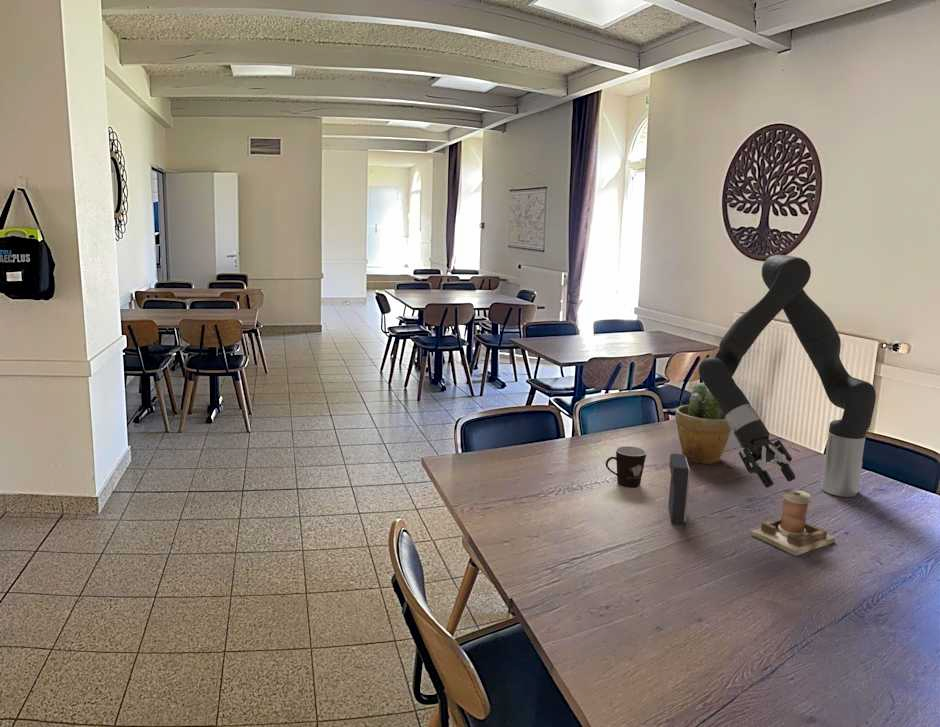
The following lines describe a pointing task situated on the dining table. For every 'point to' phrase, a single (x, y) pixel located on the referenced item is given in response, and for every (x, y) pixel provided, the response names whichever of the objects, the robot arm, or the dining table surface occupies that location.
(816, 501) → the dining table surface
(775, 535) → the board
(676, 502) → the calculator
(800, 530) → the bobbin
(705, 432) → the potted plant
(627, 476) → the coffee mug
